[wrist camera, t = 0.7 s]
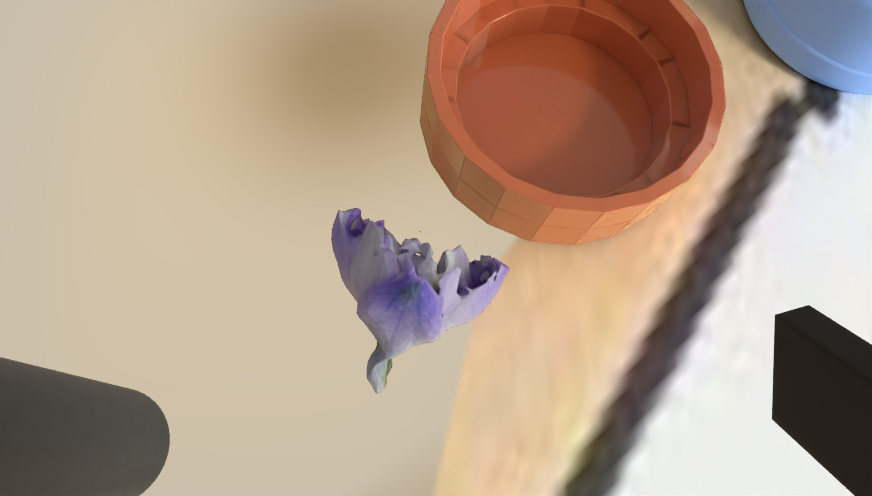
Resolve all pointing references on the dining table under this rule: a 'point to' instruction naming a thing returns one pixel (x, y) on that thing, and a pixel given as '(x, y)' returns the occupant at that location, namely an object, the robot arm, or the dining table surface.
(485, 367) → the dining table surface
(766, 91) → the dining table surface
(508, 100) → the pot
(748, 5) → the water jug
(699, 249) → the dining table surface
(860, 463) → the robot arm
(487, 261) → the flower
